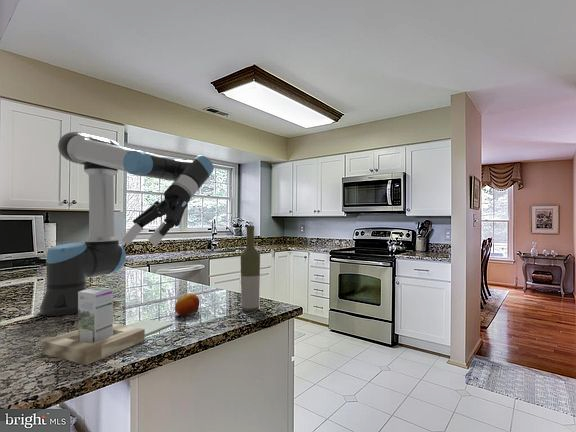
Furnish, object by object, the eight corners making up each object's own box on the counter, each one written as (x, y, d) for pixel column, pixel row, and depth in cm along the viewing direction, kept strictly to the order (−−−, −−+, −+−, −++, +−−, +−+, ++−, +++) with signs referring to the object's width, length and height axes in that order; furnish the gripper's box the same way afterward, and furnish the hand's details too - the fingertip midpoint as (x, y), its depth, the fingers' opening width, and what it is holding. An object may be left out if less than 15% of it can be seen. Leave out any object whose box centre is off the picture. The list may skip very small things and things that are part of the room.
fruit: (197, 314, 106) (186, 292, 107) (178, 325, 108) (167, 304, 109) (208, 307, 114) (197, 287, 115) (190, 318, 116) (180, 298, 117)
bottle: (242, 307, 120) (242, 225, 121) (261, 307, 120) (261, 225, 121) (238, 312, 113) (238, 225, 114) (258, 312, 113) (258, 225, 114)
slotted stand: (41, 353, 79) (42, 340, 79) (102, 332, 93) (102, 321, 93) (86, 365, 72) (87, 351, 72) (144, 340, 87) (144, 329, 87)
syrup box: (114, 344, 85) (114, 287, 85) (94, 352, 79) (94, 292, 79) (97, 341, 87) (97, 286, 87) (76, 349, 81) (77, 290, 81)
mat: (115, 331, 94) (115, 329, 94) (145, 320, 104) (145, 319, 104) (143, 336, 90) (143, 334, 90) (172, 324, 100) (172, 323, 100)
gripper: (214, 198, 100) (173, 252, 88) (164, 202, 114) (123, 249, 102) (200, 179, 96) (155, 233, 83) (150, 186, 110) (105, 233, 97)
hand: (137, 242), depth 92 cm, fingers open, 13 cm apart
